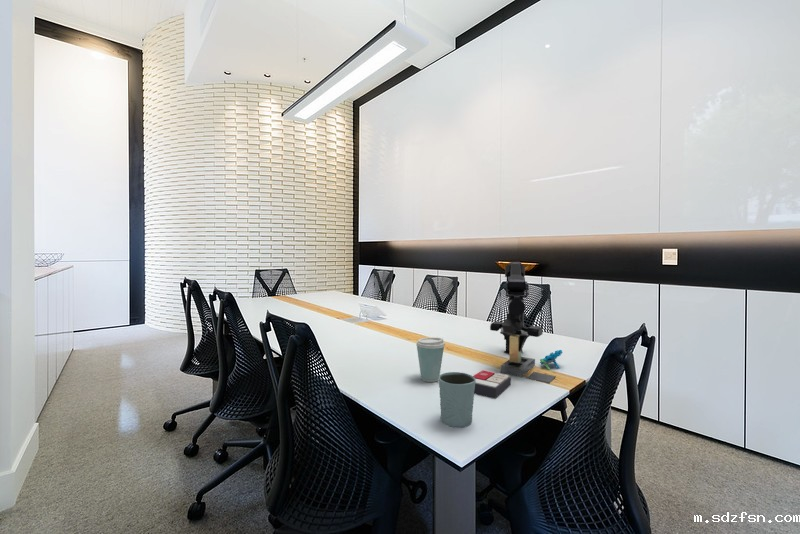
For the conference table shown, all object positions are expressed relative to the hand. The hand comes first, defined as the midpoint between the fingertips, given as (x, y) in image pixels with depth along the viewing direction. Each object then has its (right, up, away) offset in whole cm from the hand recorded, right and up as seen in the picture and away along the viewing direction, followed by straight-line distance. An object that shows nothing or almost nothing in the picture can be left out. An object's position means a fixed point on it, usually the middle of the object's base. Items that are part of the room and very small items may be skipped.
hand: (515, 350), depth 138 cm
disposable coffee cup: (-34, -9, -7) cm, 35 cm away
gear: (+16, -8, +7) cm, 20 cm away
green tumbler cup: (-29, -11, -38) cm, 49 cm away
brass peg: (0, -4, 0) cm, 4 cm away
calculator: (-14, -10, -15) cm, 23 cm away
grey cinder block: (+2, -8, +3) cm, 9 cm away
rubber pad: (+8, -9, -6) cm, 13 cm away
